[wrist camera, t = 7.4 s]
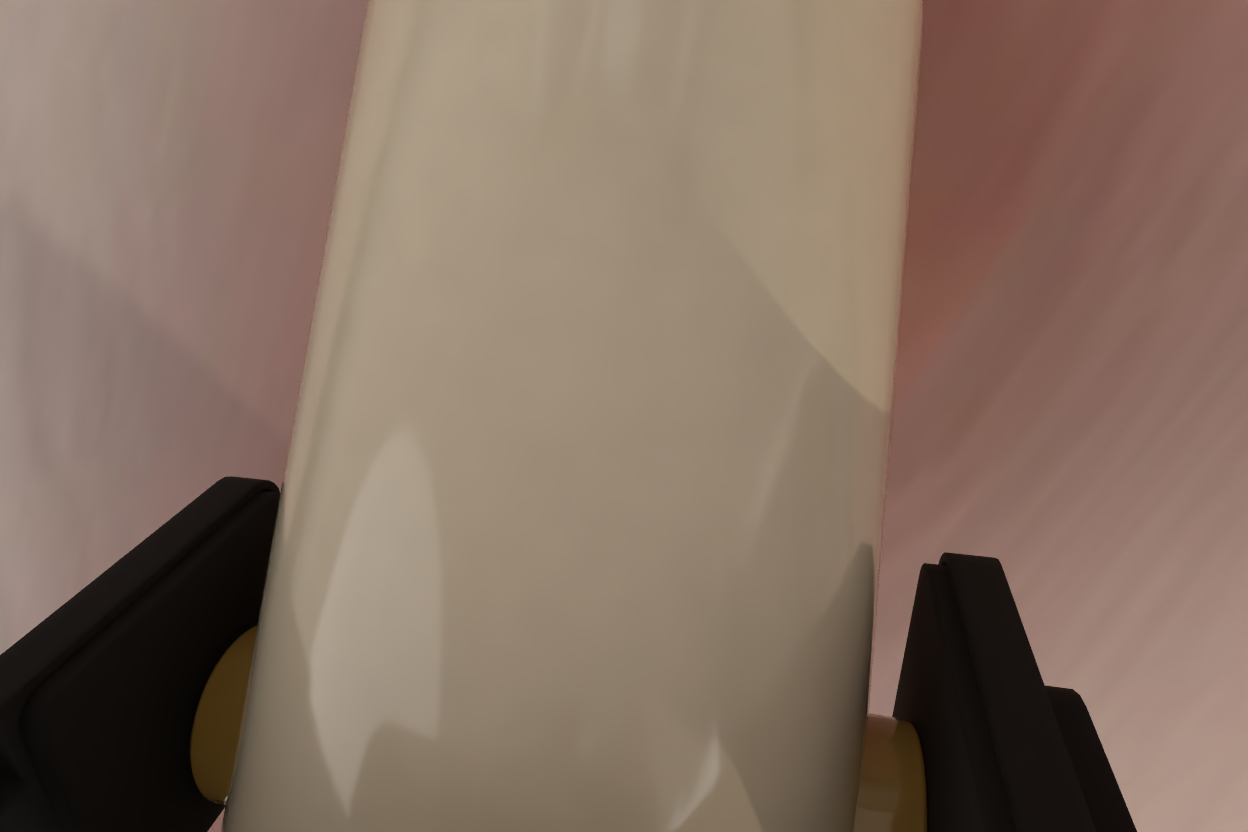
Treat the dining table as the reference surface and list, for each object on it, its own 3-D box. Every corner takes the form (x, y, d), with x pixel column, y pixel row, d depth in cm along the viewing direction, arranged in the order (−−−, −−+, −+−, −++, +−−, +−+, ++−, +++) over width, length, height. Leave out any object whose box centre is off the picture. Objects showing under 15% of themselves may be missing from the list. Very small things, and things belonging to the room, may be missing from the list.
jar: (190, -193, 7) (-98, 1156, 6) (1075, -221, 6) (983, 1481, 5) (457, 153, 14) (349, 835, 13) (909, 174, 13) (849, 934, 11)
